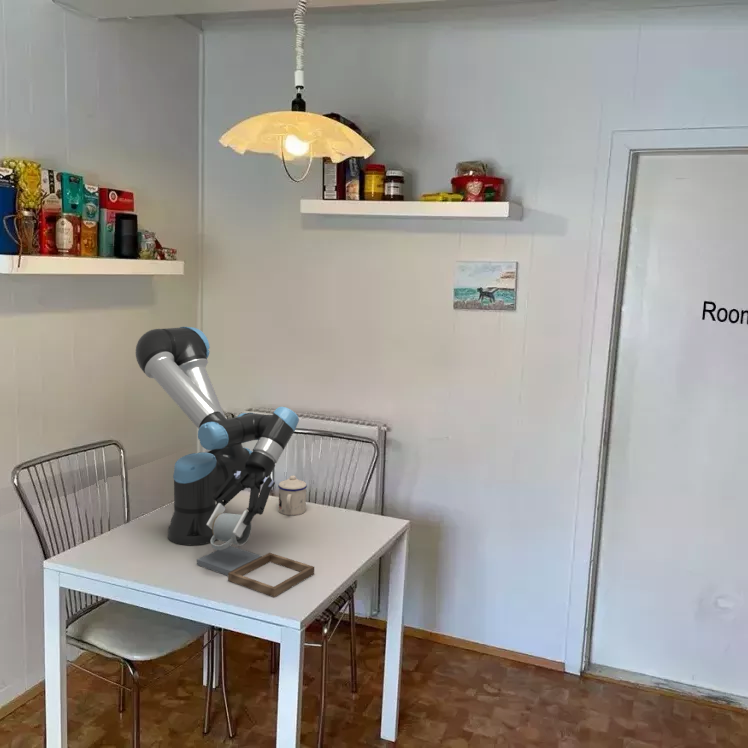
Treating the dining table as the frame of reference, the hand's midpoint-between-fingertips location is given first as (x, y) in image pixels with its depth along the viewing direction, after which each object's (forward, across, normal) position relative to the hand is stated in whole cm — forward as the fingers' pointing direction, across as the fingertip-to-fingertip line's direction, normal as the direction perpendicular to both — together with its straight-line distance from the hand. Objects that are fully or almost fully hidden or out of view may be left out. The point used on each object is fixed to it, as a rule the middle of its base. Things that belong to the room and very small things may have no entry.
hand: (223, 530), depth 188 cm
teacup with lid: (-23, +12, -38) cm, 46 cm away
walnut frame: (+5, -14, -10) cm, 17 cm away
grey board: (+5, +1, -10) cm, 11 cm away
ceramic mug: (+2, 0, -4) cm, 5 cm away
